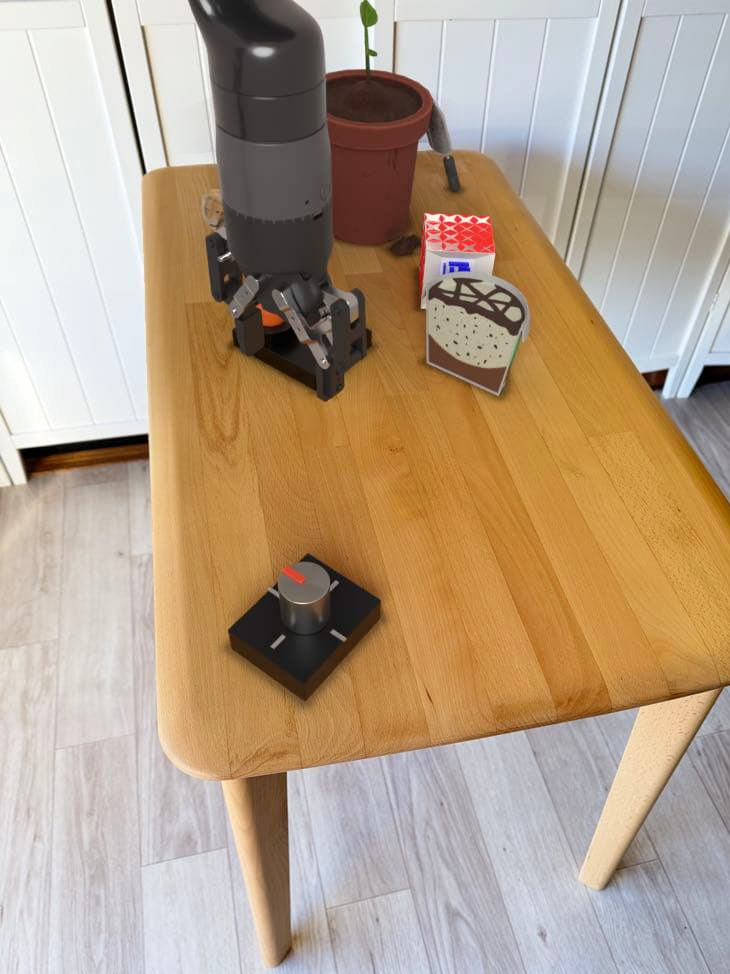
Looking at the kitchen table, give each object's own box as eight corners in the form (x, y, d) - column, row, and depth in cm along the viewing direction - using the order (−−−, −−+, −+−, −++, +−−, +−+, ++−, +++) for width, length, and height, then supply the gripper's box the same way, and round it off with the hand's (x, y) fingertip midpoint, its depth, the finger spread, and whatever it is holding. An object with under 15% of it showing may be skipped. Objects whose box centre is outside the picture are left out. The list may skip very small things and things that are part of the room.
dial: (340, 610, 67) (340, 576, 63) (308, 643, 65) (307, 610, 61) (303, 585, 68) (300, 551, 64) (271, 617, 66) (266, 583, 62)
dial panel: (306, 703, 65) (304, 684, 62) (230, 648, 68) (226, 627, 65) (381, 619, 70) (382, 599, 68) (308, 572, 73) (306, 550, 70)
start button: (270, 331, 88) (269, 318, 87) (245, 318, 89) (244, 304, 88) (292, 316, 90) (291, 302, 89) (267, 303, 91) (266, 289, 90)
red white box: (481, 274, 103) (490, 216, 97) (485, 311, 99) (495, 253, 92) (418, 271, 103) (423, 212, 97) (420, 308, 98) (425, 249, 92)
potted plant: (307, 182, 115) (300, -23, 95) (459, 187, 117) (482, -14, 97) (304, 253, 104) (296, 37, 84) (472, 257, 106) (502, 47, 86)
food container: (536, 372, 92) (554, 296, 84) (510, 401, 89) (527, 325, 81) (442, 331, 96) (452, 255, 88) (415, 357, 92) (422, 281, 84)
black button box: (314, 392, 88) (313, 363, 85) (230, 345, 92) (226, 316, 89) (371, 346, 93) (372, 317, 90) (290, 304, 97) (288, 274, 94)
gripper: (161, 169, 55) (197, 358, 68) (319, 249, 50) (325, 436, 63) (240, 131, 59) (259, 316, 72) (393, 202, 54) (385, 387, 67)
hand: (290, 372), depth 68 cm, fingers open, 8 cm apart
